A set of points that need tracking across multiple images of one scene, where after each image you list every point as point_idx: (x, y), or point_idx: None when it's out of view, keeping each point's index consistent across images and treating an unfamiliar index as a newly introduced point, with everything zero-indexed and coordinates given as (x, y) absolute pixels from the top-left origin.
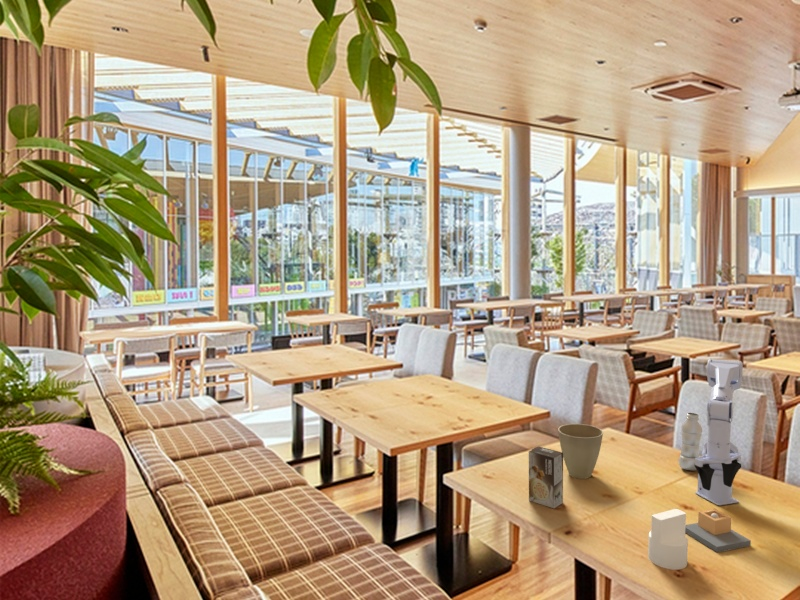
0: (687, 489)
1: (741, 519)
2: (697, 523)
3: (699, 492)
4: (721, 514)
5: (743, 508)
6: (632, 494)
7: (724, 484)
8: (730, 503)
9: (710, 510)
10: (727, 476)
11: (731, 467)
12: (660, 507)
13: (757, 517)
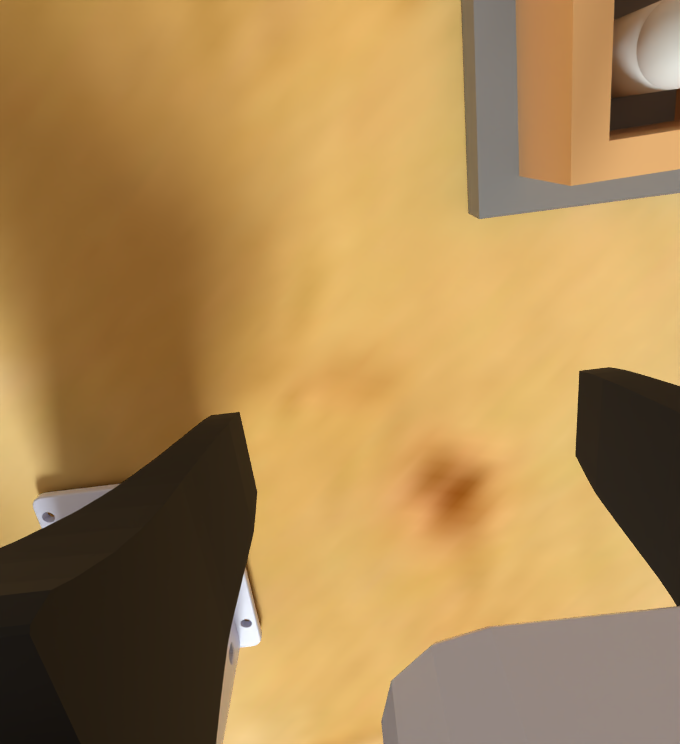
0: (269, 683)
1: (183, 260)
2: (672, 185)
3: (238, 633)
4: (610, 30)
5: (56, 414)
6: None
7: (254, 485)
8: (113, 485)
9: (649, 153)
10: (217, 539)
11: (132, 647)
12: None
13: (31, 268)
